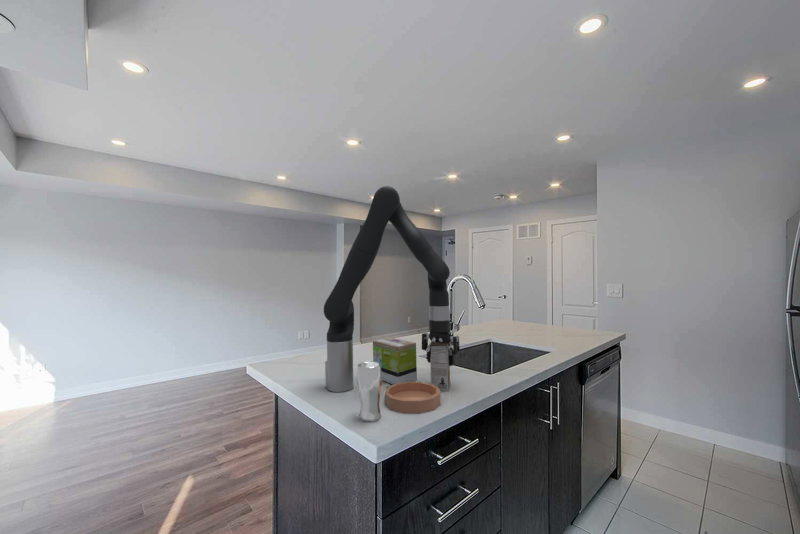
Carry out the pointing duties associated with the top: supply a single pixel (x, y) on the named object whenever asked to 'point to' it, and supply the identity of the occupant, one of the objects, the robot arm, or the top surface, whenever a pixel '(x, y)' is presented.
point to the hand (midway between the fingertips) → (440, 363)
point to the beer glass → (369, 390)
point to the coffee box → (440, 365)
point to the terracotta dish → (412, 397)
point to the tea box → (396, 360)
